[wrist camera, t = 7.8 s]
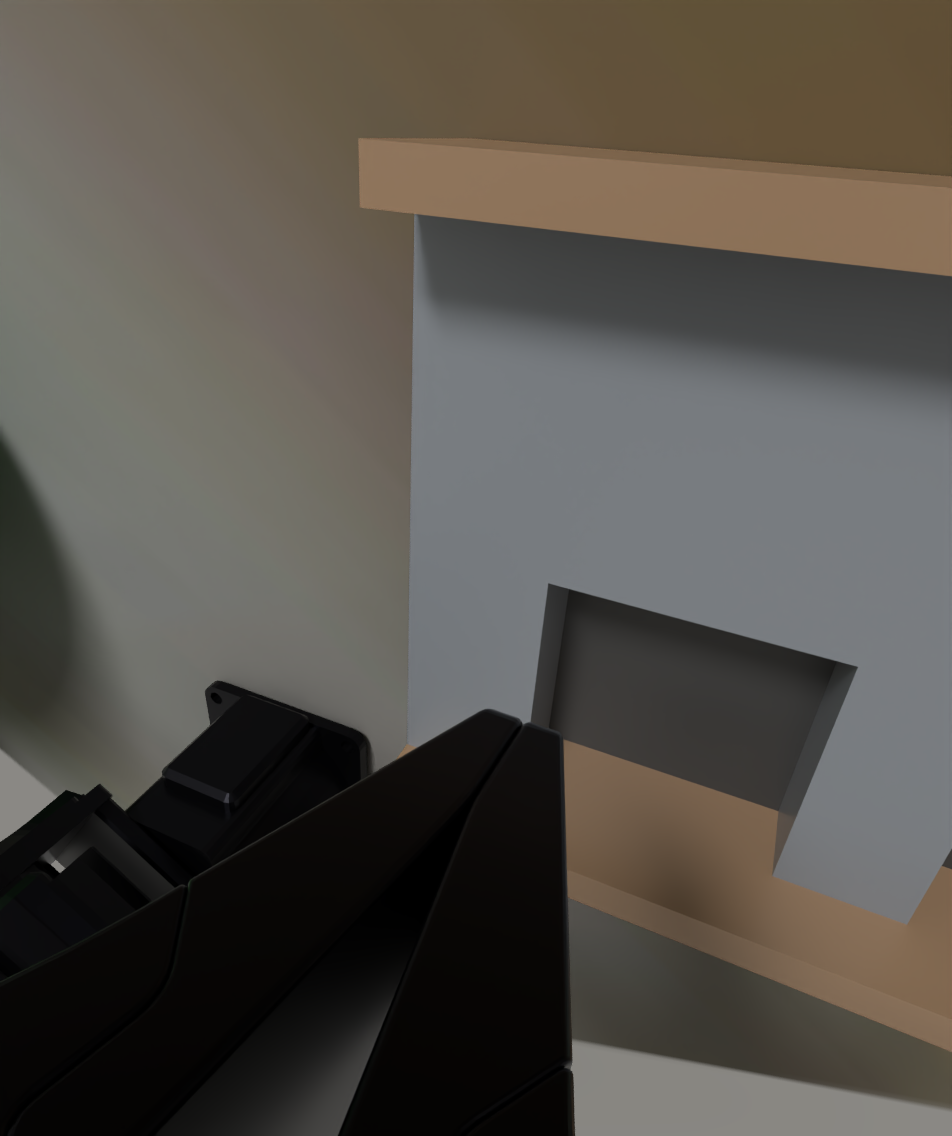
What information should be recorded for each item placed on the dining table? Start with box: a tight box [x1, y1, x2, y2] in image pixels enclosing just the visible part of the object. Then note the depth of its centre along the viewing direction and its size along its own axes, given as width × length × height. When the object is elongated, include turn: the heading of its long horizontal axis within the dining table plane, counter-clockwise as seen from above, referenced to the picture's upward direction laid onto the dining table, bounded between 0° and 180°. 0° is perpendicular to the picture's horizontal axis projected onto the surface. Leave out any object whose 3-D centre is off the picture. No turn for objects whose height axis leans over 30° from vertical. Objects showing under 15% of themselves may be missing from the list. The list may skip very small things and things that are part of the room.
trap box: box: [359, 138, 952, 1052], centre depth 15 cm, size 16×22×4 cm
